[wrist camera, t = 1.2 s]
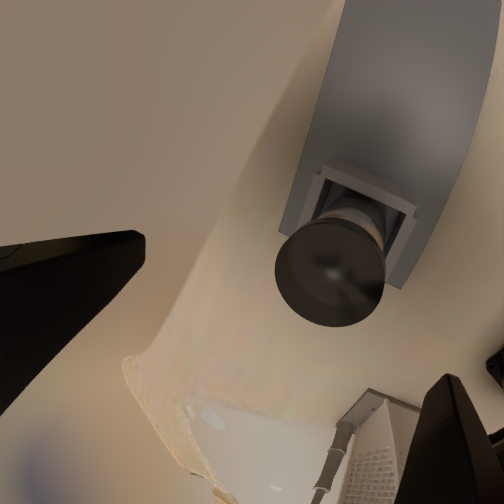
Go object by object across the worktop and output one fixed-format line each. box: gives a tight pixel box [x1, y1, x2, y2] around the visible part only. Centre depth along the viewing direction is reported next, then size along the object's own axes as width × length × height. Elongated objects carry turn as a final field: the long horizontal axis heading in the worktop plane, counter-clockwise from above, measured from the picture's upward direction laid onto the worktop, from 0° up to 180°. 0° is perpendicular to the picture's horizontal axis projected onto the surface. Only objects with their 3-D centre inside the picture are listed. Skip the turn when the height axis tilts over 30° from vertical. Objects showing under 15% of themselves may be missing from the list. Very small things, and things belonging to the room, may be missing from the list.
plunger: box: [275, 195, 386, 327], centre depth 13 cm, size 4×4×6 cm
